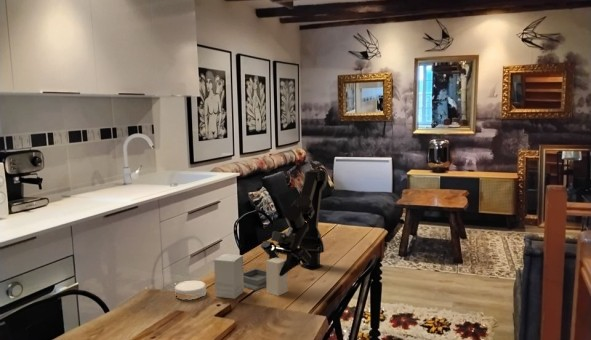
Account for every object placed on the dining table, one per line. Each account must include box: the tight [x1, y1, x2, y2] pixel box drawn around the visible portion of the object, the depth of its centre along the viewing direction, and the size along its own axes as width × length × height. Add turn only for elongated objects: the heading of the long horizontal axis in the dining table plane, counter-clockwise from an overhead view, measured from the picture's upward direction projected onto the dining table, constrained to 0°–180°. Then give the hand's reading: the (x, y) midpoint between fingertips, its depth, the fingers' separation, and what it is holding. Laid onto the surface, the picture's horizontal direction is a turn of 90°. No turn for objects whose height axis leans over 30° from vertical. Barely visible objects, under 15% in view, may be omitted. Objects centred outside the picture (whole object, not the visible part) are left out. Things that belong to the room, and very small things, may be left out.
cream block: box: [265, 256, 289, 297], centre depth 158 cm, size 5×5×11 cm
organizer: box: [243, 267, 267, 291], centre depth 169 cm, size 14×12×3 cm
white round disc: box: [174, 280, 207, 297], centre depth 156 cm, size 10×10×4 cm
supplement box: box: [213, 253, 245, 300], centre depth 156 cm, size 7×7×13 cm
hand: (274, 273), depth 157 cm, fingers closed on cream block, 5 cm apart
